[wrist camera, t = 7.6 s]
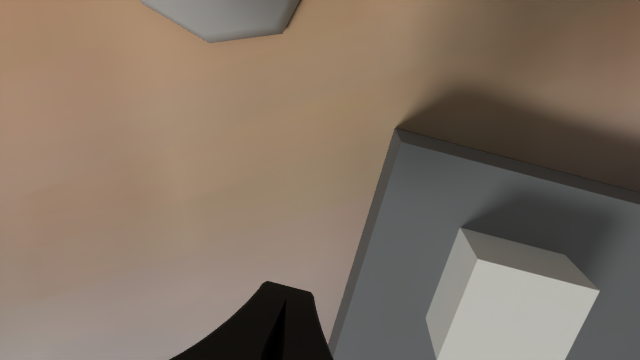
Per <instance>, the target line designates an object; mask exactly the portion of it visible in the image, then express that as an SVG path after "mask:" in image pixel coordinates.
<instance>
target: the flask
mask: <svg viewBox="0 0 640 360" xmlns="http://www.w3.org/2000/svg"><path fill="white" fill-rule="evenodd" d="M140 1H141V2H142V4H144V5H146V6H147V7H149V8H151V9H152V10H154V11H156V12H157V13H159V14H161V15H163V16H164V17H166V18H168V19H169V20H171V21H173V22H174V23H176V24H178V25H180V26H181V27H183V28H185V29H186V30H188V31H190V32H191V33H193V34H195V35H197V36H198V37H200V38H202V39H203V40H205V41H207V42H208V43H213V42H221V41H229V40H236V39H244V38H252V37H260V36H267V35H275V34H282V33H283V32H284V30H285V28H286V26H287V24H288V22H289V20H290V18H291V16H292V14H293V12H294V10H295V9H296V7H297V5H298V3H299V1H300V0H140Z"/></svg>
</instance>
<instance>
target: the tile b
mask: <svg viewBox="0 0 640 360" xmlns="http://www.w3.org/2000/svg"><path fill="white" fill-rule="evenodd" d="M599 292H600V290H599V289H598V288H597V287H596V286H595V285H594V284H593V283H592V282H591V281H590V280H589V279H588V278H587V277H586V276H585V275H584V274H583V273H582V272H581V271H580V270H579V269H578V268H577V267H576V266H575V265H574V264H573V263H572V262H571V261H570V259H569V258H568V257H567V256H566V255H564V254H560V253H556V252H552V251H548V250H544V249H541V248H537V247H533V246H529V245H525V244H522V243H518V242H514V241H510V240H506V239H502V238H499V237H495V236H491V235H487V234H483V233H479V232H476V231H472V230H468V229H464V228H460V229H459V231H458V234H457V237H456V239H455V242H454V244H453V247H452V250H451V252H450V255H449V258H448V260H447V263H446V265H445V268H444V271H443V273H442V276H441V279H440V281H439V284H438V287H437V289H436V292H435V294H434V297H433V300H432V302H431V305H430V308H429V310H428V313H427V315H426V322H427V326H428V329H429V333H430V337H431V341H432V345H433V349H434V353H435V356H436V360H565V359H566V357H567V355H568V353H569V351H570V349H571V347H572V345H573V343H574V341H575V339H576V337H577V335H578V333H579V331H580V329H581V327H582V325H583V323H584V321H585V319H586V317H587V315H588V313H589V311H590V309H591V307H592V305H593V303H594V301H595V300H596V298H597V296H598V294H599Z"/></svg>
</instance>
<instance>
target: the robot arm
mask: <svg viewBox="0 0 640 360" xmlns="http://www.w3.org/2000/svg"><path fill="white" fill-rule="evenodd" d="M170 360H334V359H333V357H332V355H331V352H330V350H329V347H328V345H327V342H326V339H325V337H324V334H323V331H322V328H321V325H320V322H319V318H318V315H317V311H316V306H315V301H314V296H313V295H312V293H311V292H308V291H304V290H301V289H297V288H293V287H289V286H285V285H281V284H277V283H273V282H270V281H266V282H264V283H262V285H261V286H260V288H259V289H258V290H257V292H256V293H255V294H254V295H253V296H252V297H251V298H250V299H249V300H248V301H247V302H246V304H245V305H243V306H242V307H241V308H240V309H239V310H238V311H237V312H236V313H235V314H234V315H233V316H232V317H231V318H229V319H228V320H227V321H226V322H225V323H223V324H222V325H221V326H220V327H218V328H217V329H216V330H215V331H213V332H212V333H211V334H209V335H208V336H207V337H205V338H204V339H202V340H201V341H199V342H198V343H197V344H195V345H193V346H192V347H190V348H189V349H187V350H186V351H184V352H182V353H180V354H179V355H177V356H175V357H173V358H171V359H170Z"/></svg>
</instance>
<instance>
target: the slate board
mask: <svg viewBox="0 0 640 360" xmlns="http://www.w3.org/2000/svg"><path fill="white" fill-rule="evenodd" d="M460 228H464V229H468V230H472V231H476V232H479V233H483V234H487V235H491V236H495V237H499V238H502V239H506V240H510V241H514V242H518V243H522V244H525V245H529V246H533V247H537V248H541V249H544V250H548V251H552V252H556V253H560V254H564V255H566V256H567V257H568V258H569V259H570V261H571V262H572V263H573V264H574V265H575V266H576V267H577V268H578V269H579V270H580V271H581V272H582V273H583V274H584V275H585V276H586V277H587V278H588V279H589V280H590V281H591V282H592V283H593V284H594V285H595V286H596V287H597V288H598V289H599V290H600V292H599V294H598V296H597V298H596V300H595V301H594V303H593V305H592V307H591V309H590V311H589V313H588V315H587V317H586V319H585V321H584V323H583V325H582V327H581V329H580V331H579V333H578V335H577V337H576V339H575V341H574V343H573V345H572V347H571V349H570V351H569V353H568V355H567V357H566V359H565V360H640V193H639V192H635V191H631V190H627V189H624V188H620V187H616V186H612V185H609V184H605V183H601V182H597V181H593V180H590V179H586V178H582V177H578V176H574V175H571V174H567V173H563V172H559V171H555V170H552V169H548V168H544V167H540V166H536V165H533V164H529V163H525V162H521V161H518V160H514V159H510V158H506V157H502V156H499V155H495V154H491V153H487V152H483V151H480V150H476V149H472V148H468V147H464V146H461V145H457V144H453V143H449V142H445V141H442V140H438V139H434V138H430V137H426V136H423V135H419V134H415V133H411V132H408V131H404V130H400V129H396V128H395V129H394V133H393V136H392V139H391V142H390V146H389V149H388V152H387V155H386V159H385V162H384V165H383V168H382V172H381V175H380V178H379V181H378V185H377V188H376V191H375V194H374V198H373V201H372V204H371V207H370V211H369V214H368V217H367V220H366V224H365V227H364V230H363V233H362V236H361V240H360V243H359V246H358V249H357V253H356V256H355V259H354V262H353V266H352V269H351V272H350V275H349V279H348V282H347V285H346V288H345V292H344V295H343V298H342V301H341V305H340V308H339V311H338V314H337V318H336V321H335V324H334V327H333V331H332V334H331V337H330V340H329V343H328V347H329V350H330V352H331V355H332V357H333V359H334V360H436V356H435V353H434V349H433V345H432V341H431V337H430V333H429V329H428V326H427V322H426V315H427V313H428V310H429V308H430V305H431V302H432V300H433V297H434V294H435V292H436V289H437V287H438V284H439V281H440V279H441V276H442V273H443V271H444V268H445V265H446V263H447V260H448V258H449V255H450V252H451V250H452V247H453V244H454V242H455V239H456V237H457V234H458V231H459V229H460Z"/></svg>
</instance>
